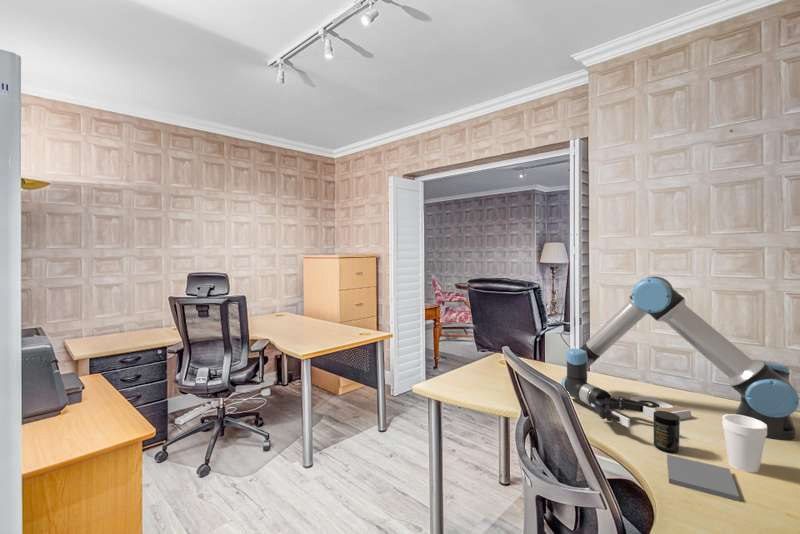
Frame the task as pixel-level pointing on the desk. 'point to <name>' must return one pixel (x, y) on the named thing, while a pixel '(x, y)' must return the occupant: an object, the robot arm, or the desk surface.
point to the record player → (663, 406)
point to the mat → (701, 477)
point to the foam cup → (744, 441)
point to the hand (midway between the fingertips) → (645, 420)
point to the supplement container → (666, 431)
